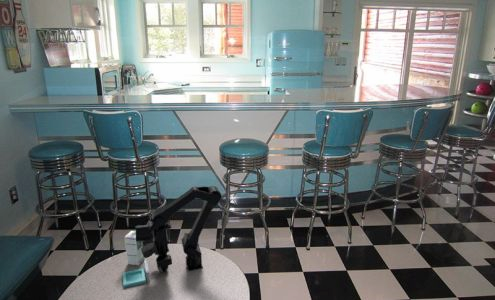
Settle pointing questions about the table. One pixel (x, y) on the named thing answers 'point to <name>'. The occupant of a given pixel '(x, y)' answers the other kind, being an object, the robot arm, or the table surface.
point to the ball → (161, 269)
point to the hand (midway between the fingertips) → (163, 268)
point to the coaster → (134, 277)
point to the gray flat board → (146, 270)
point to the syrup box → (133, 249)
